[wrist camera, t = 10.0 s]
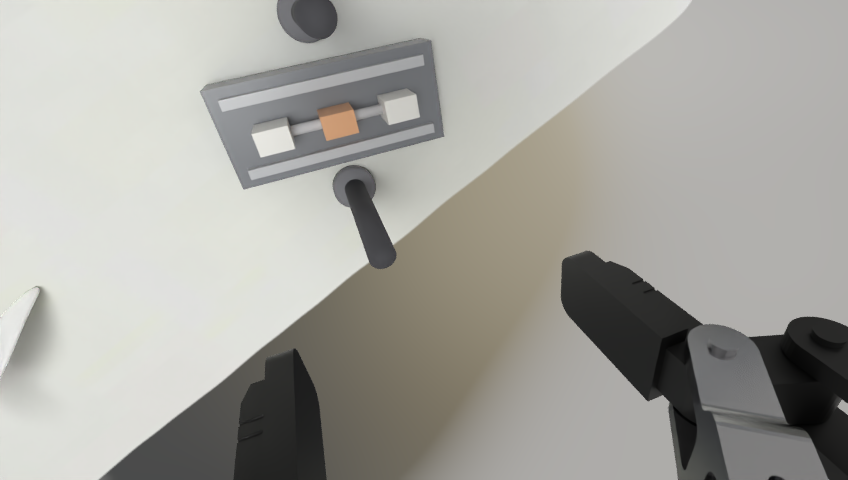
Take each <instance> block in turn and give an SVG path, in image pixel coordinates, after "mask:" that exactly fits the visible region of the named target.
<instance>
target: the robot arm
mask: <svg viewBox="0 0 848 480" xmlns="http://www.w3.org/2000/svg"><path fill="white" fill-rule="evenodd" d="M561 283H562V284H561V301H562V304H563V307H564V309H565V311H566V313H567V314H568V316H569V317H570V318H571V319H572V320H573V321H574V322H575V323H576V324H577V326H578V327H579V328H580V329H581V330H582V331H583V332H584V333H585V334H586V335H587V336H588V337H589V338H590V340H591V341H592V342H593V343H594V344H595V345H596V346H597V347H598V348H599V349H600V350H601V351H602V353H603V354H604V355H605V356H606V357H607V358H608V359H609V360H610V361H611V362H612V363H613V364H614V365H615V367H616V368H618V370H619V371H620V372H621V373H622V374H623V375H624V376H625V377H626V378H627V379H628V381H629V382H630V383H631V384H632V385H633V386H634V387H635V388H636V389H637V390H638V391H639V392H640V394H641V395H643V397H644V398H645V399H646V400H647V401H650V400H652V399H655V398H657V397H659V396H661V395H664V397H666V399H667V400H668V401H669V402H670V403H669V407H668V408H669V418H670V425H671V431H672V438H673V446H674V453H675V460H676V467H677V475H678V480H828V479H829V480H848V415H847V414H846V413H844V412H843V411H842V410H840V409H839V408H838V407H837V406H838V405H839V403H840V402H841V400H844V401H845V402H846V403H848V327H847V326H845V325H843V324H840V323H838V322H835V321H831V320H828V319H824V318H818V317H800V318H797V319H794V320H792V321H791V322H790V323H789V325H788V327H787V329H786V331H785V333H784V335H772V336H758V337H747V336H745V335H744V334H742V333H741V332H739V331H736V330H734V329H732V328H729V327H726V326H721V325H714V324H705V325H703V324H702V323H700V322H699V321H697V320H696V319H695V318H694V317H692V316H691V315H689V314H688V313H687V312H686V311H684V310H683V309H682V308H680V307H679V306H678V305H676V304H675V303H674V302H672V301H671V300H670V299H668V298H667V297H666V296H665V295H663V294H662V293H660V292H659V291H658V290H657V291H655V289H654V287H652V286H651V285H650V284H649V283H647V282H646V281H645V282H644V281H643V279H642V278H641V277H639V276H638V275H637V274H635V273H634V272H633V271H631V270H630V269H628V268H626V267H624V266H621V265H619V264H616V263H613V262H611V261H609V262H604V261H603V260H602V259H600V258H599V257H598V256H596V255H595V254H594V253H592V252H590V251H585V252H582V253H579V254H576V255H573V256H570V257H567V258H565V259H564V260H563V262H562V279H561ZM239 424H240V427H239V429H238V443H237V450H236V459H235V470H234V480H327V479H326V469H325V459H324V448H323V439H322V429H321V418H320V408H319V401H318V397H317V393H316V390H315V387H314V384H313V382H312V380H311V378H310V376H309V374H308V372H307V369H306V367H305V365H304V363H303V361H302V359H301V357H300V355H299V353H298V351H297V350H296V349H291V350H288V351H285V352H282V353H279V354H276V355H273V356H270V357H267V358H266V363H265V380H262V381H259V382H256V383H253V384H251V385H250V387H249V389H248V391H247V393H246V395H245V397H244V399H243V401H242V403H241V408H240V418H239Z"/></svg>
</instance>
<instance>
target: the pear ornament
mask: <svg viewBox="0 0 848 480" xmlns="http://www.w3.org/2000/svg"><path fill="white" fill-rule="evenodd" d="M38 295H39V288H38V287H34V288H32V289H30V290H28V291H27V292H25V293H24V294H23V295H22V296H20V297H19V298H18V299H17V300H16V301H15V302H14V303H12V304H11V305H10V306H9V307H8V308H7V309H6V310H5V312H4V313H3V314H2V315H1V317H0V380H1V378H2V375H3V373H4V371H5V369H6V367H7V365H8V362H9V360H10V358H11V355H12V353H13V351H14V348H15V346H16V344H17V341H18V339H19V336H20V334H21V332H22V329H23V327H24V325H25V322H26V320H27V318H28V316H29V314H30V312H31V309H32V307H33V305H34V303H35V301H36V299H37V297H38Z"/></svg>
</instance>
